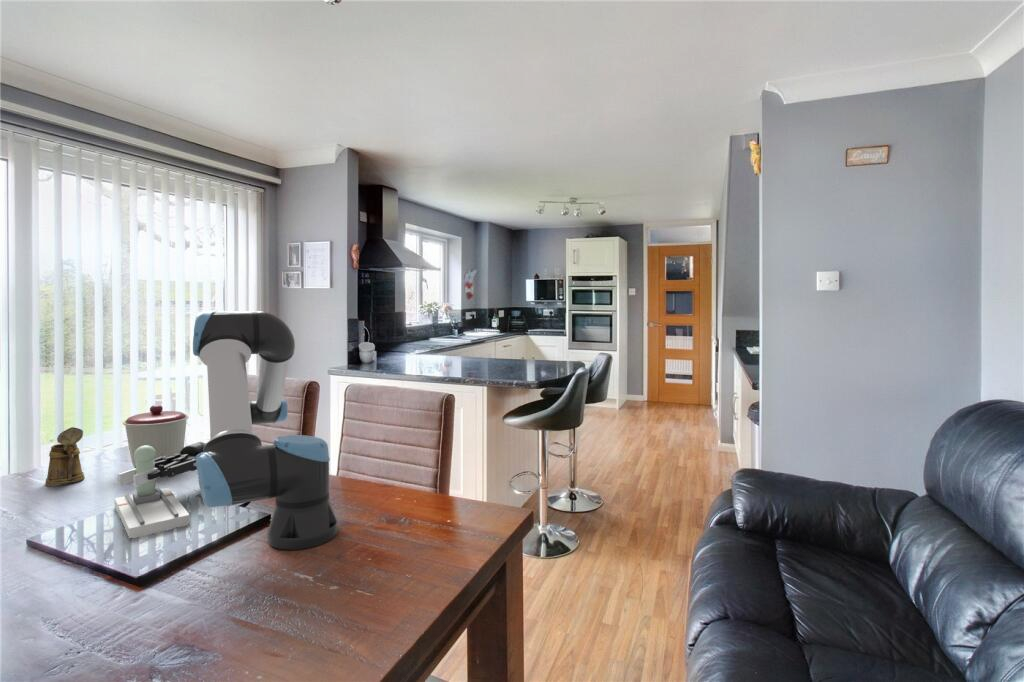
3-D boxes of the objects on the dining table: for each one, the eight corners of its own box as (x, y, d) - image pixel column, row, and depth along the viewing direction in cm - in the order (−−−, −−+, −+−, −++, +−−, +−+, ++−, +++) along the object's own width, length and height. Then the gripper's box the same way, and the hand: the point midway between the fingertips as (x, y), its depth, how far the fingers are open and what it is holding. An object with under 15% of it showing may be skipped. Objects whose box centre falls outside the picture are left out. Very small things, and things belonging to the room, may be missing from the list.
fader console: (189, 524, 127) (189, 511, 127) (129, 539, 119) (128, 525, 118) (168, 496, 146) (167, 485, 146) (114, 507, 138) (114, 495, 137)
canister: (137, 462, 178) (134, 401, 177) (196, 458, 184) (194, 399, 183) (114, 478, 161) (111, 411, 160) (180, 473, 167) (178, 408, 165)
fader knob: (160, 499, 136) (158, 445, 136) (135, 504, 133) (133, 449, 132) (156, 494, 140) (154, 442, 139) (132, 499, 136) (130, 445, 136)
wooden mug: (55, 491, 149) (52, 430, 148) (41, 482, 157) (38, 423, 156) (93, 483, 156) (90, 424, 155) (78, 475, 164) (76, 418, 163)
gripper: (225, 469, 152) (155, 497, 129) (175, 465, 156) (99, 492, 133) (224, 444, 152) (154, 467, 129) (175, 440, 155) (98, 463, 132)
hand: (126, 480), depth 131 cm, fingers closed on fader knob, 4 cm apart
